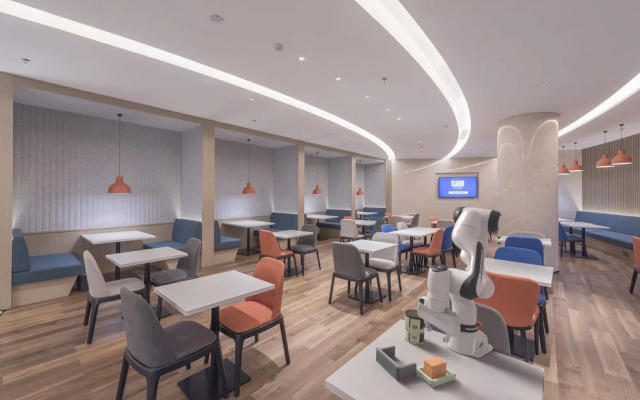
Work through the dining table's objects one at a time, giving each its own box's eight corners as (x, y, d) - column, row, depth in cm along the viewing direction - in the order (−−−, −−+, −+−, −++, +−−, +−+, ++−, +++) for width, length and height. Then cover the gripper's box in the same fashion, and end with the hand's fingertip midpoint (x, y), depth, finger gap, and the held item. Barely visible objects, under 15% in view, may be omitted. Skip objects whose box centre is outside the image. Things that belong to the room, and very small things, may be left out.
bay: (393, 355, 131) (394, 343, 131) (416, 375, 118) (416, 361, 117) (375, 360, 127) (376, 347, 127) (396, 380, 114) (397, 367, 113)
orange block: (438, 369, 121) (438, 356, 121) (446, 376, 117) (447, 362, 117) (423, 374, 118) (424, 360, 117) (431, 380, 113) (432, 366, 113)
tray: (437, 366, 124) (437, 361, 124) (455, 380, 115) (455, 374, 115) (414, 373, 119) (415, 367, 119) (431, 387, 110) (432, 381, 110)
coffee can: (417, 334, 153) (419, 308, 153) (428, 344, 143) (429, 317, 143) (400, 335, 151) (401, 309, 151) (409, 345, 141) (410, 318, 141)
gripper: (464, 313, 108) (463, 347, 109) (425, 294, 127) (425, 324, 128) (453, 315, 106) (452, 351, 106) (415, 296, 124) (414, 326, 125)
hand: (437, 336), depth 117 cm, fingers open, 8 cm apart
